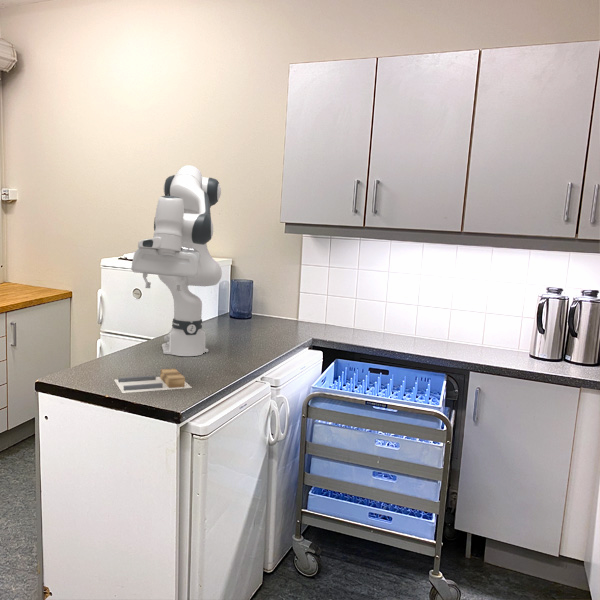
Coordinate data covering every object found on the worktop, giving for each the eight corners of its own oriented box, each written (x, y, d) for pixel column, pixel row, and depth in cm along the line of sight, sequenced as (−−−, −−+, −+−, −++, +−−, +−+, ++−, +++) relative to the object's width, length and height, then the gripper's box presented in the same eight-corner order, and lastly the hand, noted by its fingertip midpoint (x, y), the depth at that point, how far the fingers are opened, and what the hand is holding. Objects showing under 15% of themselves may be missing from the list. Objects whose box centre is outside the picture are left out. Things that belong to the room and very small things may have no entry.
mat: (113, 381, 187) (114, 376, 187) (179, 377, 197) (179, 372, 197) (122, 394, 174) (122, 389, 173) (191, 389, 184) (192, 384, 184)
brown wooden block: (160, 377, 192) (160, 369, 192) (174, 377, 195) (175, 368, 194) (169, 387, 182) (169, 378, 182) (184, 386, 184) (184, 377, 184)
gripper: (199, 251, 183) (196, 293, 182) (134, 244, 178) (130, 287, 176) (201, 247, 177) (198, 291, 176) (133, 240, 172) (129, 285, 170)
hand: (163, 289), depth 176 cm, fingers open, 8 cm apart
